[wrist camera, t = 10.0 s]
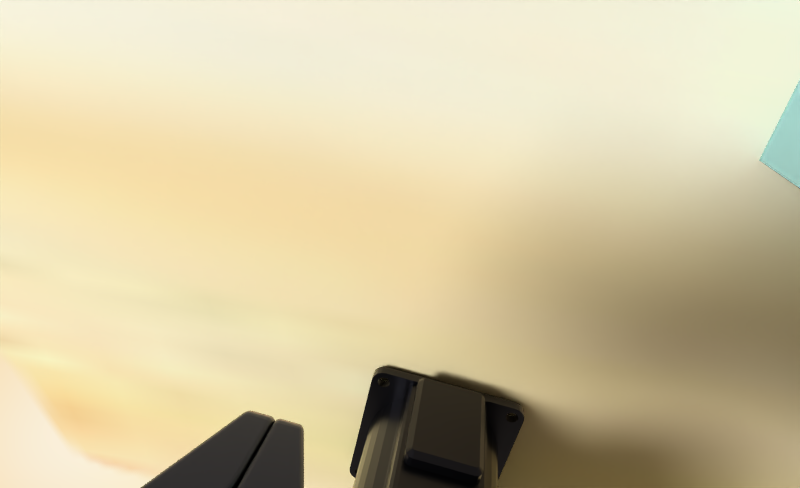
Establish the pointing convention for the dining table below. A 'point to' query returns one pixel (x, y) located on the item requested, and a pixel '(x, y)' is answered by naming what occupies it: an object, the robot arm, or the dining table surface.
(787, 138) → the teal block
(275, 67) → the dining table surface
